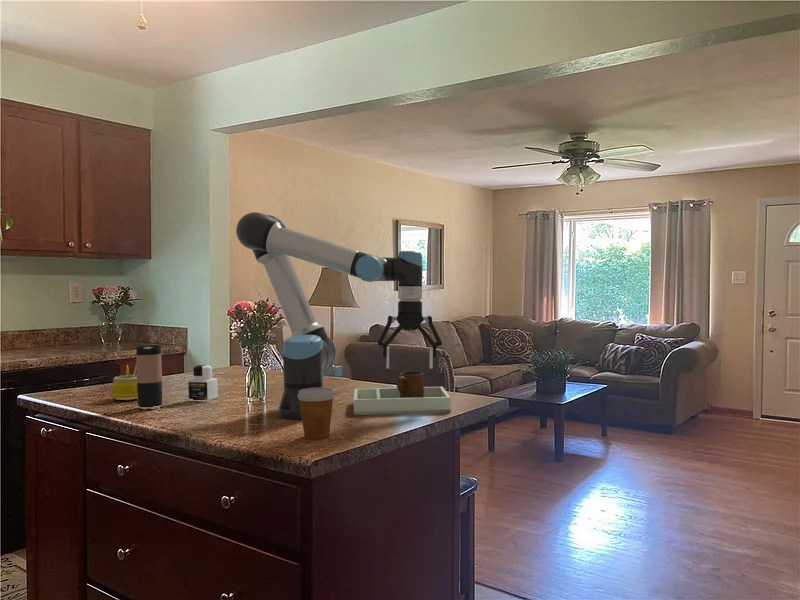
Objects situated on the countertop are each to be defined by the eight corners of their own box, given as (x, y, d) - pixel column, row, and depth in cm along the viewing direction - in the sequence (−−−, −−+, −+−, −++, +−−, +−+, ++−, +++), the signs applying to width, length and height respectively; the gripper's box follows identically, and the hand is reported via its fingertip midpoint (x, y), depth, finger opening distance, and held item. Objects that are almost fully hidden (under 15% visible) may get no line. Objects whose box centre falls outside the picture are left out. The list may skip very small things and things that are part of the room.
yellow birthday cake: (134, 402, 221) (133, 367, 221) (105, 402, 223) (104, 367, 223) (154, 395, 234) (153, 362, 234) (126, 395, 236) (125, 362, 235)
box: (353, 414, 194) (353, 399, 193) (355, 402, 214) (354, 388, 213) (450, 412, 195) (450, 397, 195) (442, 400, 215) (442, 386, 215)
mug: (408, 408, 197) (408, 377, 197) (387, 406, 201) (387, 375, 201) (428, 401, 207) (427, 372, 207) (407, 399, 211) (407, 370, 211)
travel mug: (152, 405, 215) (150, 344, 215) (168, 407, 211) (166, 345, 211) (132, 409, 209) (130, 347, 208) (148, 411, 205) (146, 347, 204)
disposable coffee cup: (340, 433, 171) (339, 387, 170) (327, 441, 161) (326, 393, 161) (306, 431, 173) (305, 386, 173) (292, 440, 164) (291, 392, 163)
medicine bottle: (188, 401, 220) (187, 366, 220) (199, 398, 227) (198, 363, 227) (207, 402, 218) (206, 366, 218) (218, 398, 225) (217, 364, 225)
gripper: (370, 300, 199) (369, 369, 200) (451, 301, 200) (450, 369, 201) (370, 299, 207) (369, 366, 207) (448, 300, 208) (447, 366, 209)
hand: (409, 368), depth 204 cm, fingers open, 13 cm apart
